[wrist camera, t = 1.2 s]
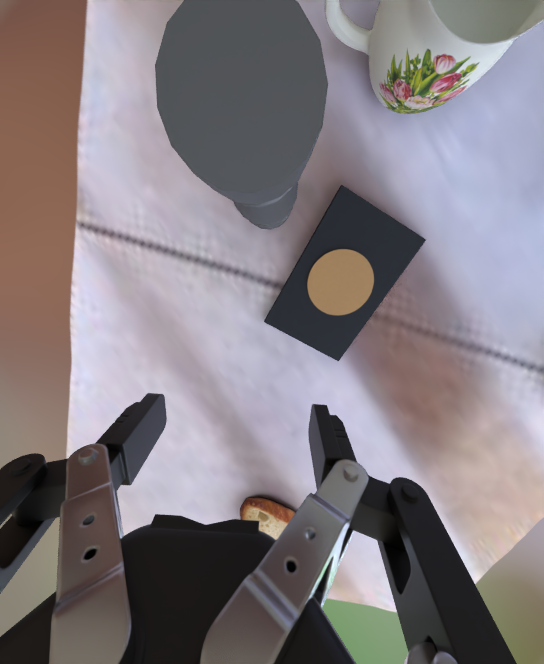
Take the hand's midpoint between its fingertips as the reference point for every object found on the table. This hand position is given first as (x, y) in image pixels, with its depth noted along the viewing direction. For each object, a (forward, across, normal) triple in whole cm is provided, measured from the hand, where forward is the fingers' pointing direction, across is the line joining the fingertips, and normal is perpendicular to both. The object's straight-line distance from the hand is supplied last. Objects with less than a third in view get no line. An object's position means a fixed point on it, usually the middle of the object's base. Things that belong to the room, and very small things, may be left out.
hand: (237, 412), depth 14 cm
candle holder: (+24, 0, -13) cm, 28 cm away
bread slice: (+24, -7, +47) cm, 53 cm away
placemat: (+24, -11, -4) cm, 27 cm away
